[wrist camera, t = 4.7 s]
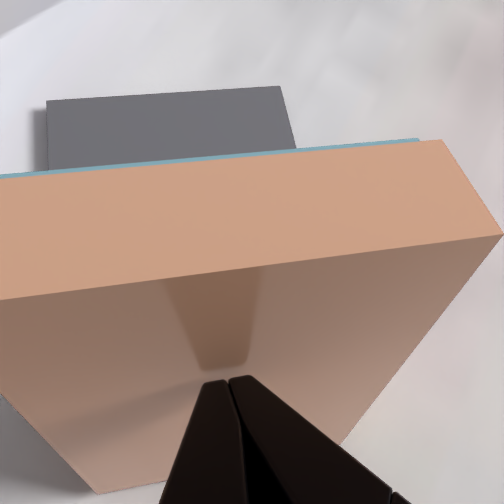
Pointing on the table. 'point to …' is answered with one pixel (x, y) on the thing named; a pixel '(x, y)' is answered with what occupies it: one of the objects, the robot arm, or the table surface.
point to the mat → (166, 126)
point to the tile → (223, 289)
